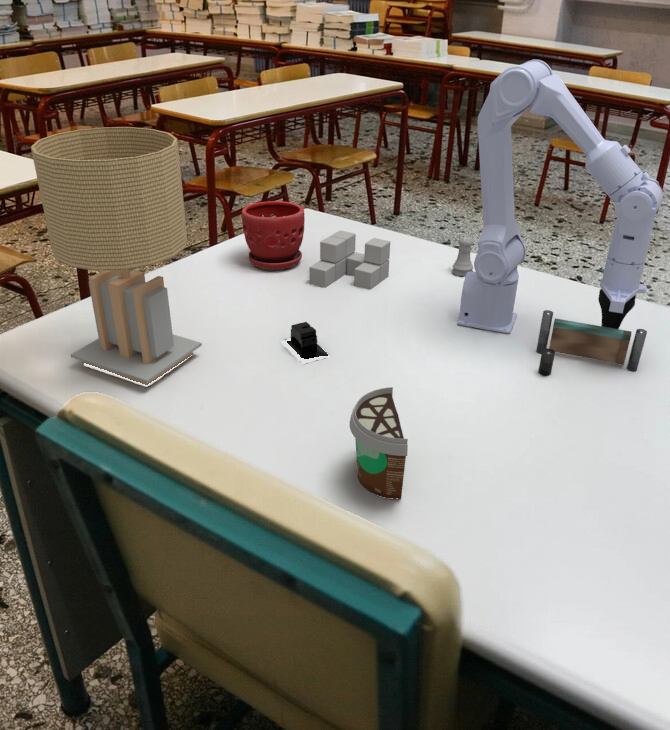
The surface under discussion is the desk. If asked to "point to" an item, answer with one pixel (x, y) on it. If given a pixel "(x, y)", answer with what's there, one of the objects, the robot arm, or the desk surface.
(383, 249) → the grey cube structure
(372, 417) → the food container
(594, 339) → the open box
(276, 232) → the plant pot
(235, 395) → the desk surface
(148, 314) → the desk lamp
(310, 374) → the desk surface
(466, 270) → the rook chess piece
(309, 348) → the black stepped block
